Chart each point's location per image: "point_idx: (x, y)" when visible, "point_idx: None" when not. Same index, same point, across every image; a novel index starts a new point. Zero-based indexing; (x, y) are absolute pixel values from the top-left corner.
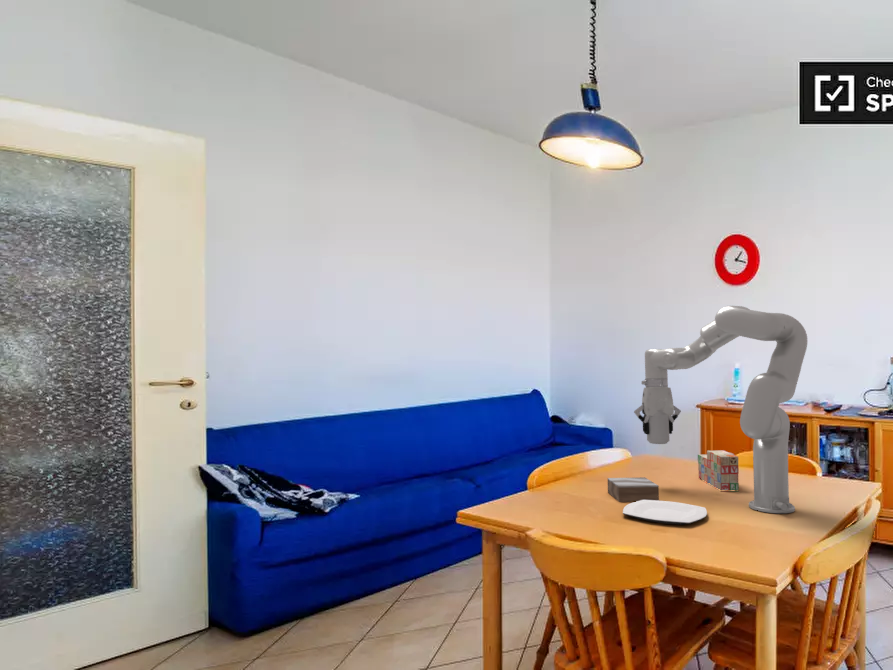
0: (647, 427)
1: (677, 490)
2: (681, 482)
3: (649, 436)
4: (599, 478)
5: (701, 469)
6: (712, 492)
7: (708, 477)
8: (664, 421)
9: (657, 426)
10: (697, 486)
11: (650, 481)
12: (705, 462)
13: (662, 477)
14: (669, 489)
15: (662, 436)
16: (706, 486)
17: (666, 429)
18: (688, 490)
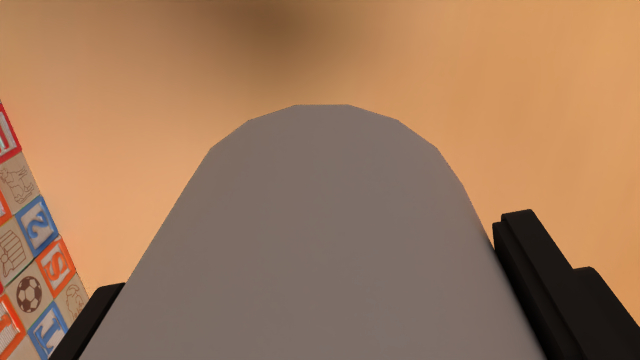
0: (571, 283)
1: (229, 40)
2: None
3: (472, 208)
4: (636, 296)
5: None
6: (23, 14)
7: (35, 248)
8: (126, 344)
9: (354, 228)
10: (111, 165)
11: None
12: (2, 330)
13: None
14: (275, 62)
15: (268, 139)
16: (64, 171)
17: (158, 240)
18: (163, 50)
